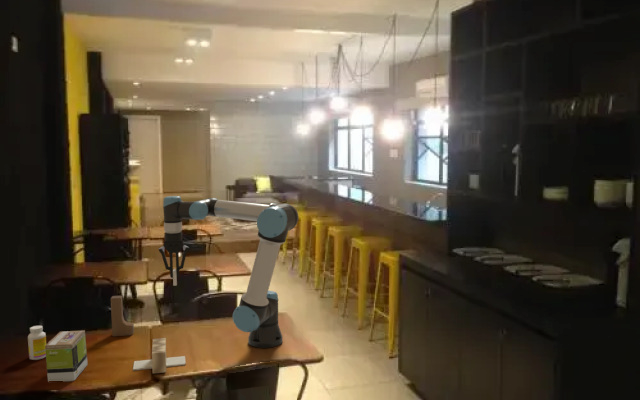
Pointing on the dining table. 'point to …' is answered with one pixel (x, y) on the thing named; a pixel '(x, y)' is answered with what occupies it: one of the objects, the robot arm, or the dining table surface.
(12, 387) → the dining table surface
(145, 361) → the mat
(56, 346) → the tea box
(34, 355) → the supplement bottle
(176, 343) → the dining table surface
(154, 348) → the block
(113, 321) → the wooden block
